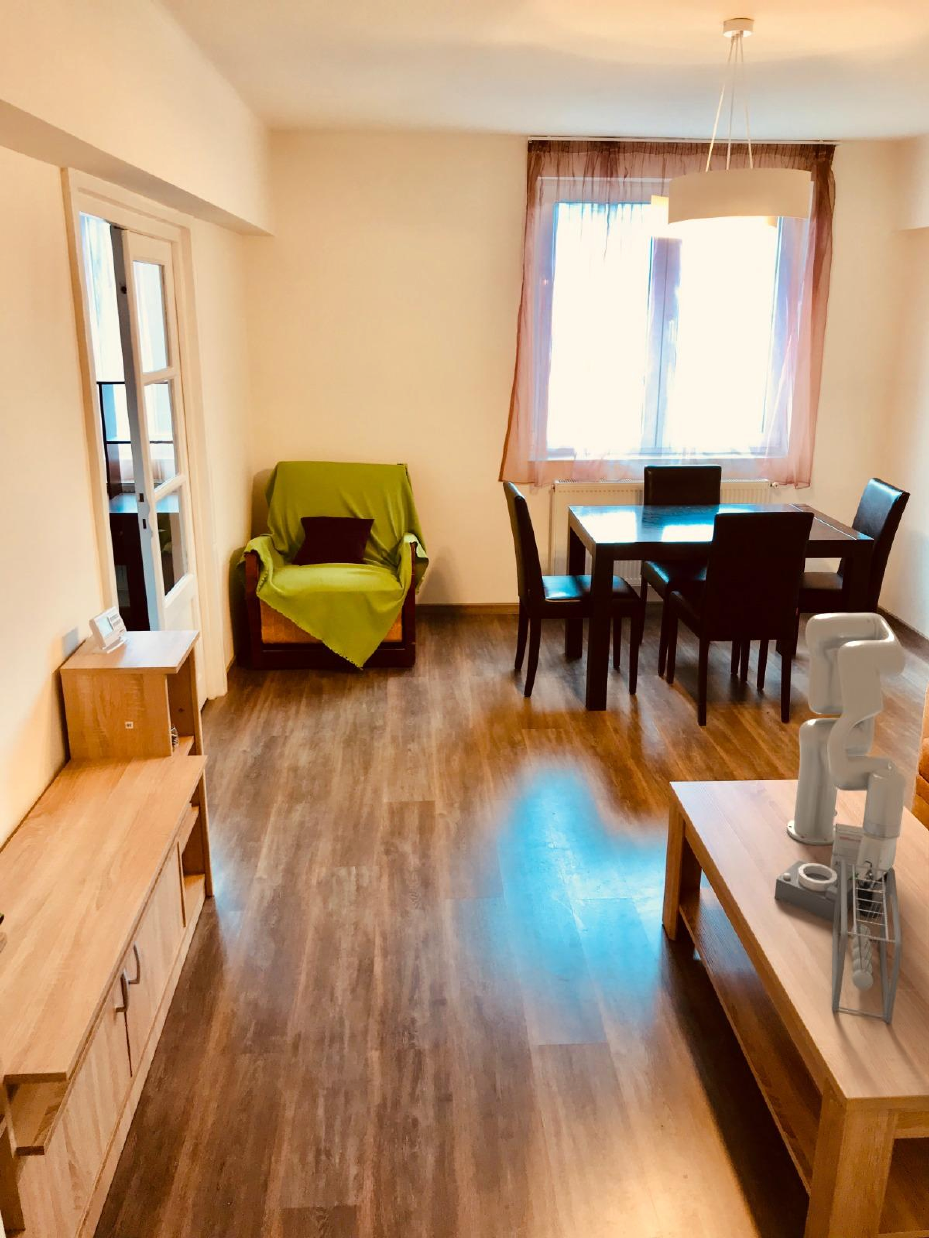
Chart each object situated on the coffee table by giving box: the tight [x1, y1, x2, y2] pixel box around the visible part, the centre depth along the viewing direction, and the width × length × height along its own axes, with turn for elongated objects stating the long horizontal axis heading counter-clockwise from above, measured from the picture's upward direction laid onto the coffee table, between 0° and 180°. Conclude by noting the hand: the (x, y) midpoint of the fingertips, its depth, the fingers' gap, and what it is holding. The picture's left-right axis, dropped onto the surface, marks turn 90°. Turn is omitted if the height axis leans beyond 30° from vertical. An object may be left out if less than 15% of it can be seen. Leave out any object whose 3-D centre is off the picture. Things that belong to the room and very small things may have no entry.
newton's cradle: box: [831, 860, 903, 1024], centre depth 194 cm, size 30×10×18 cm, turn 160°
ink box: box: [829, 822, 871, 881], centre depth 230 cm, size 9×5×12 cm, turn 71°
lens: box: [858, 874, 886, 920], centre depth 216 cm, size 5×5×8 cm
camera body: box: [774, 860, 858, 924], centre depth 221 cm, size 11×14×7 cm
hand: (873, 895), depth 215 cm, fingers open, 9 cm apart
